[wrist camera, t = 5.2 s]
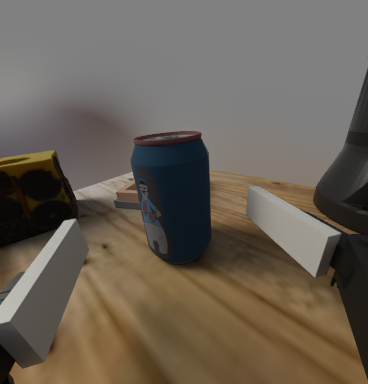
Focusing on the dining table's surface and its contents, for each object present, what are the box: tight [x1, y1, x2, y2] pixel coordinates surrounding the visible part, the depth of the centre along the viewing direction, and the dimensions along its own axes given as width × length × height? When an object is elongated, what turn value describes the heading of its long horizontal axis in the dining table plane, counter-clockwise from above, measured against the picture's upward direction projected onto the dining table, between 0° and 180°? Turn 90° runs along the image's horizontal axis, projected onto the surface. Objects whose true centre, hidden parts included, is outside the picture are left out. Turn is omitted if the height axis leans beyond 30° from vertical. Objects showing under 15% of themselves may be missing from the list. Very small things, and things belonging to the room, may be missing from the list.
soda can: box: [131, 131, 211, 264], centre depth 17 cm, size 7×7×12 cm
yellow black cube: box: [0, 150, 78, 247], centre depth 26 cm, size 10×10×10 cm
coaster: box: [114, 180, 141, 210], centre depth 32 cm, size 13×13×3 cm
